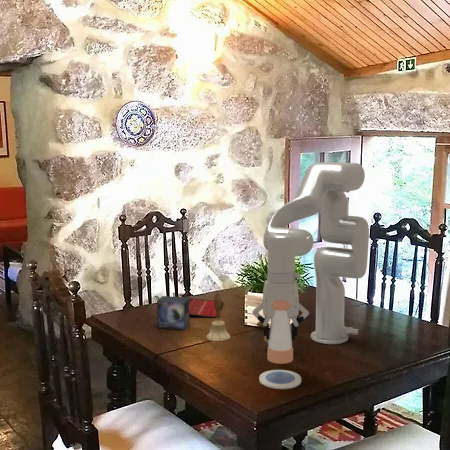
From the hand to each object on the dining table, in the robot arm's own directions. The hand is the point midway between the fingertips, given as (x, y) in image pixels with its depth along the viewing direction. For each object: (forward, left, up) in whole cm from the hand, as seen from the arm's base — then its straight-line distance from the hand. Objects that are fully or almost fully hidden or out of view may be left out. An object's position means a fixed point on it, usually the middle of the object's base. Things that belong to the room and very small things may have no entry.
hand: (280, 338), depth 180 cm
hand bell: (+20, -36, -13) cm, 43 cm away
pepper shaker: (0, 0, -6) cm, 6 cm away
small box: (+37, -47, -13) cm, 61 cm away
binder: (+29, -68, -13) cm, 75 cm away
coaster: (0, 0, -13) cm, 13 cm away
